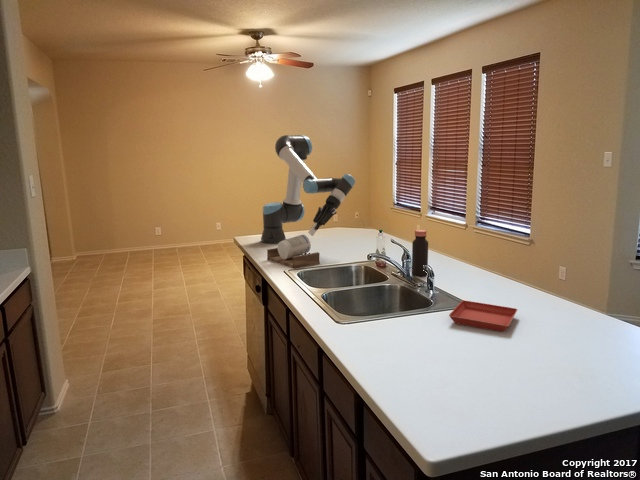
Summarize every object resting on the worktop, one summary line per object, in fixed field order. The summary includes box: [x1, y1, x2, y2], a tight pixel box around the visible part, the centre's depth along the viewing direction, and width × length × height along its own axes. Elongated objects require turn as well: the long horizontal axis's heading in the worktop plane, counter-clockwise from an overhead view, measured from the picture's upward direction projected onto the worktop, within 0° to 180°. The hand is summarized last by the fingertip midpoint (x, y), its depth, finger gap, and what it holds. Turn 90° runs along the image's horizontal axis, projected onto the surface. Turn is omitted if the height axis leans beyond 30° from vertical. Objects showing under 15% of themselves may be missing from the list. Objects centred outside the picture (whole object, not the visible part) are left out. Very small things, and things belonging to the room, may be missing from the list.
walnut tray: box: [266, 247, 321, 269], centre depth 237 cm, size 24×15×6 cm, turn 38°
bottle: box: [411, 229, 429, 278], centre depth 207 cm, size 7×7×20 cm
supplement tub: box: [276, 234, 312, 259], centre depth 239 cm, size 10×10×15 cm
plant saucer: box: [448, 300, 518, 332], centre depth 153 cm, size 18×18×3 cm
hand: (310, 234), depth 243 cm, fingers closed
